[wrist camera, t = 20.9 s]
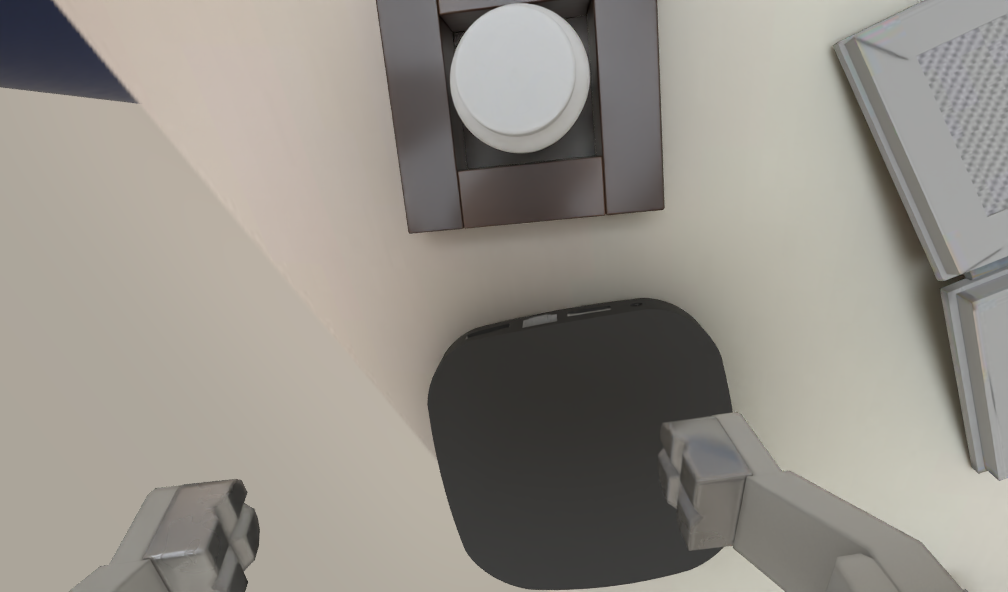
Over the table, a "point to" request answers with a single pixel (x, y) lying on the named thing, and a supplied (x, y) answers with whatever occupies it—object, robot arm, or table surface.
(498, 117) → the pill bottle
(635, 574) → the media streaming box
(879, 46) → the gadget
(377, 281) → the table surface
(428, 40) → the holder
